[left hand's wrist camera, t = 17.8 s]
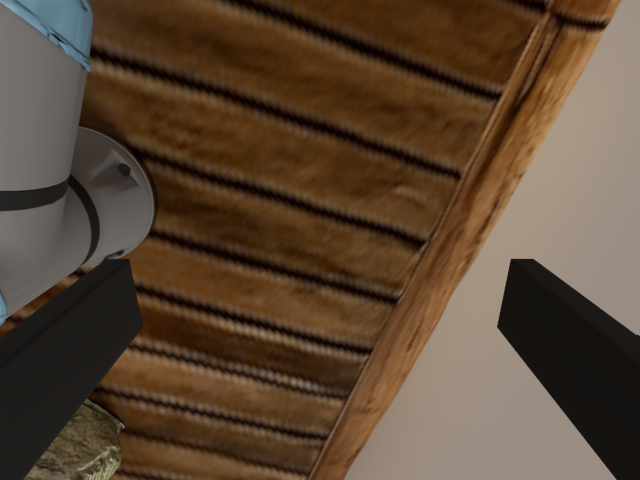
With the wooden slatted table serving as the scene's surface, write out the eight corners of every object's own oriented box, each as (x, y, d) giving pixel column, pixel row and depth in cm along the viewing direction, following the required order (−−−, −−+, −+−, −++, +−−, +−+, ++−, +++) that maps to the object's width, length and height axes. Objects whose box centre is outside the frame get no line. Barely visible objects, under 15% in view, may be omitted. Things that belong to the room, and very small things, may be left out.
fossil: (129, 450, 56) (65, 568, 42) (4, 412, 53) (-110, 524, 39) (145, 409, 53) (81, 521, 39) (12, 367, 50) (-107, 470, 36)
